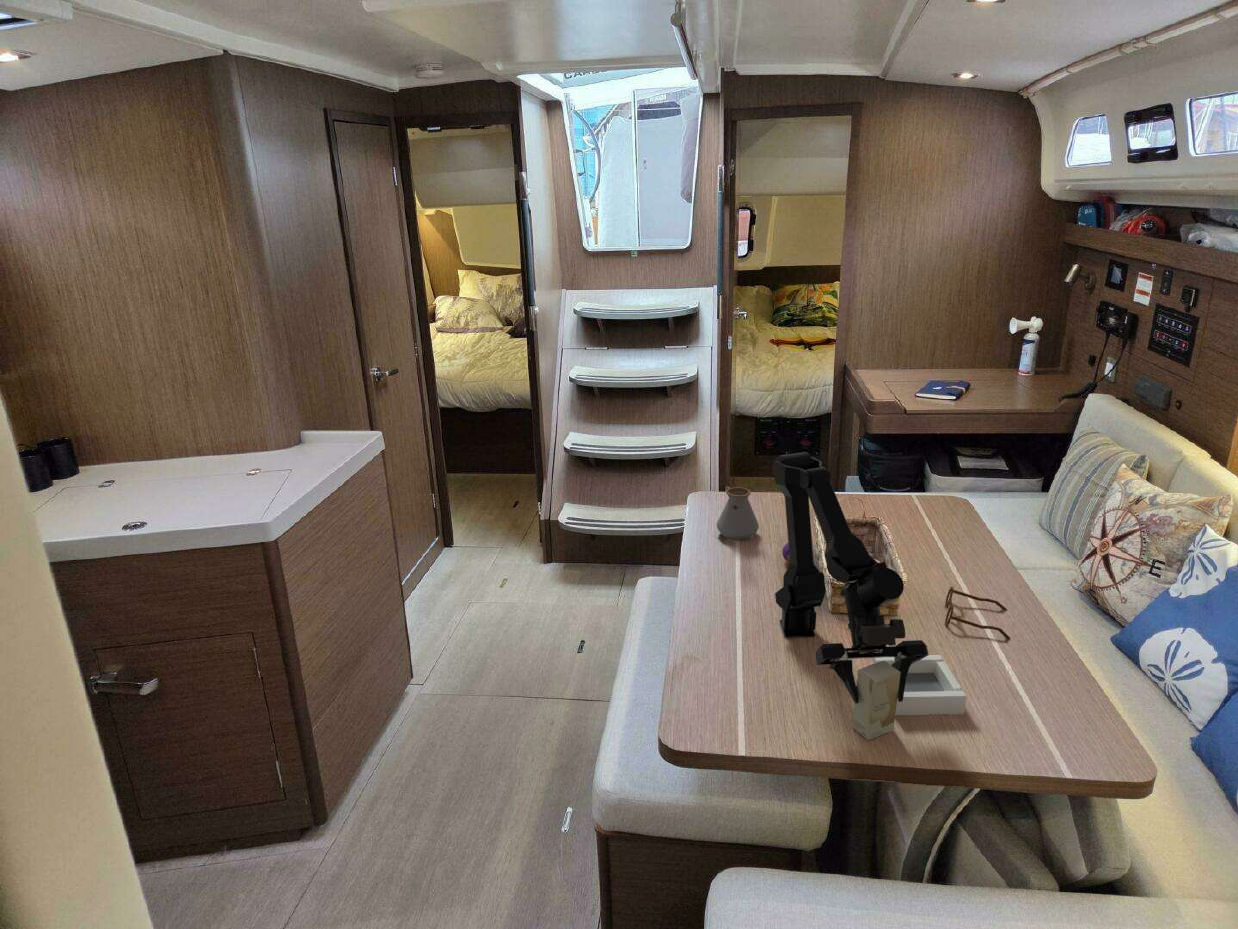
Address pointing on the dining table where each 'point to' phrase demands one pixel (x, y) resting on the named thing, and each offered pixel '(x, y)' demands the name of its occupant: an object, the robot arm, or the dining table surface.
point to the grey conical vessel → (737, 516)
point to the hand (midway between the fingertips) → (878, 702)
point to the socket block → (929, 688)
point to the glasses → (969, 621)
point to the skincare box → (876, 699)
